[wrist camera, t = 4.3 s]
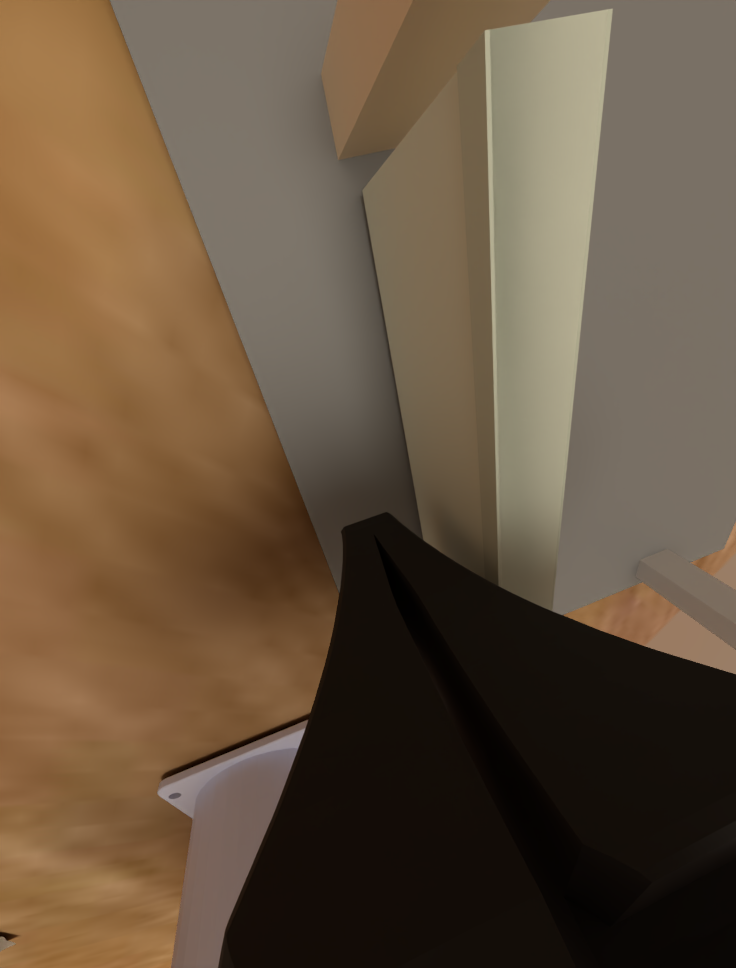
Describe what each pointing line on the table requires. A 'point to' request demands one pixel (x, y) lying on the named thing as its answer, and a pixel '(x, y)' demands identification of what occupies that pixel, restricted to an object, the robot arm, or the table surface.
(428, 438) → the gate
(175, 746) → the table surface
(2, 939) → the condiment
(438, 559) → the robot arm
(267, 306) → the grey square baseplate
